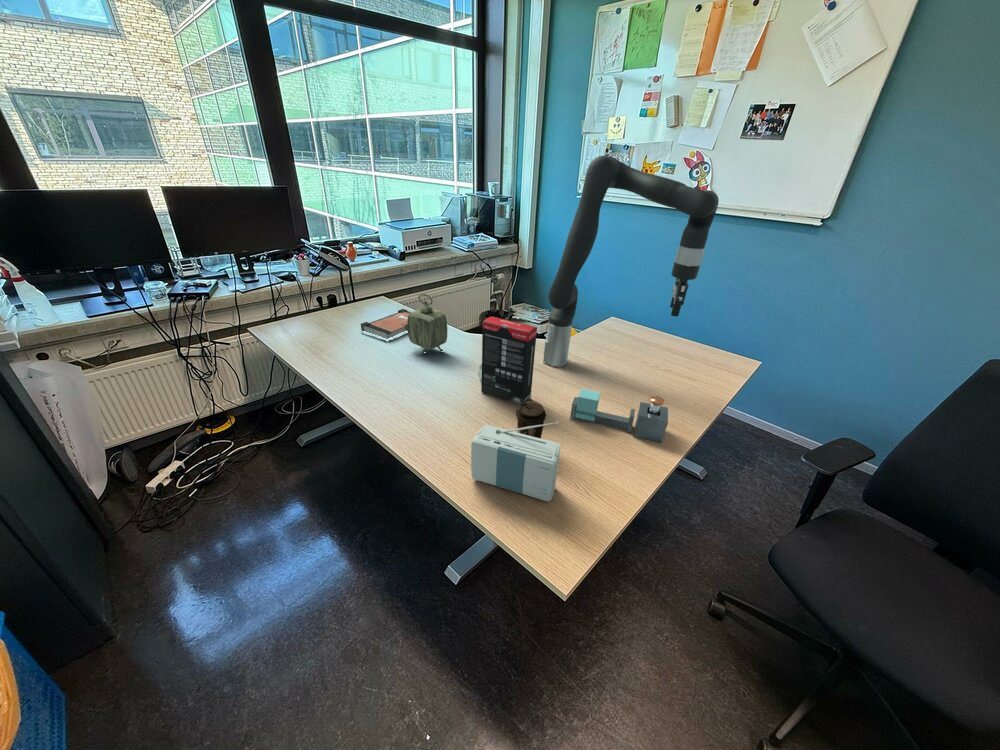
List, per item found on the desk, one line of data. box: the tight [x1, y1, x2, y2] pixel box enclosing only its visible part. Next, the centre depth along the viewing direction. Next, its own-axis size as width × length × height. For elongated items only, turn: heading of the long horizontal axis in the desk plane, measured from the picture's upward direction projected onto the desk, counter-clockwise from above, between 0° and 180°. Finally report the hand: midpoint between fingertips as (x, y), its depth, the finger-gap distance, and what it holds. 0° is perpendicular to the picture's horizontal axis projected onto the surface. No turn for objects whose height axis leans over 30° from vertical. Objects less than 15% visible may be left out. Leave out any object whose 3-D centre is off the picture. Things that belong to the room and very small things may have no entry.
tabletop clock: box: [407, 293, 448, 353], centre depth 160 cm, size 14×9×25 cm, turn 58°
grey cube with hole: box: [633, 401, 669, 444], centre depth 119 cm, size 8×8×8 cm
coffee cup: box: [515, 401, 547, 439], centre depth 111 cm, size 9×8×13 cm
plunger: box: [648, 395, 665, 415], centre depth 117 cm, size 4×4×7 cm
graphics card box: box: [480, 316, 538, 406], centre depth 131 cm, size 17×7×27 cm, turn 61°
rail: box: [569, 396, 636, 434], centre depth 124 cm, size 19×4×6 cm, turn 70°
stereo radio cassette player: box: [470, 421, 562, 502], centre depth 96 cm, size 21×8×20 cm, turn 69°
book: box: [360, 308, 412, 339], centre depth 186 cm, size 26×18×5 cm
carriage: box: [575, 388, 601, 421], centre depth 124 cm, size 6×5×8 cm
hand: (673, 311), depth 129 cm, fingers open, 8 cm apart
